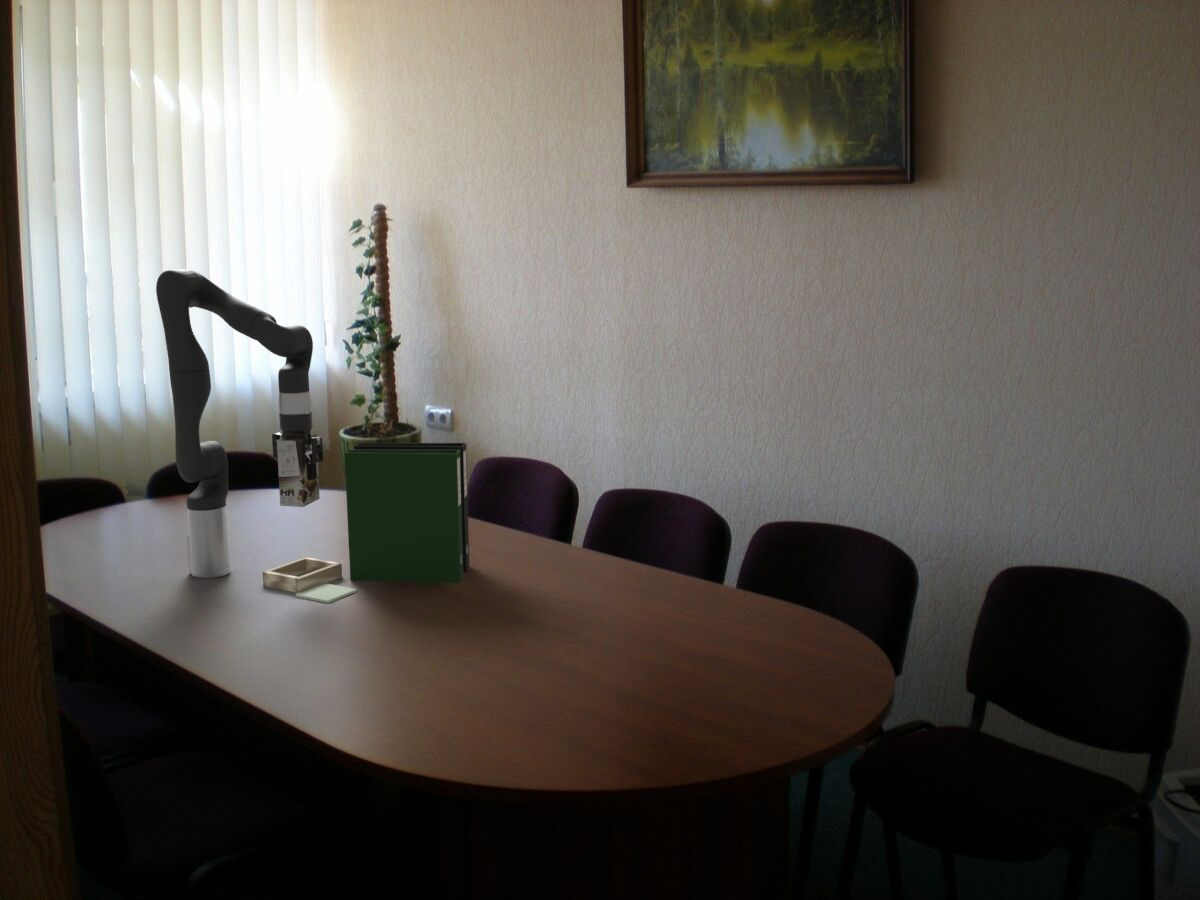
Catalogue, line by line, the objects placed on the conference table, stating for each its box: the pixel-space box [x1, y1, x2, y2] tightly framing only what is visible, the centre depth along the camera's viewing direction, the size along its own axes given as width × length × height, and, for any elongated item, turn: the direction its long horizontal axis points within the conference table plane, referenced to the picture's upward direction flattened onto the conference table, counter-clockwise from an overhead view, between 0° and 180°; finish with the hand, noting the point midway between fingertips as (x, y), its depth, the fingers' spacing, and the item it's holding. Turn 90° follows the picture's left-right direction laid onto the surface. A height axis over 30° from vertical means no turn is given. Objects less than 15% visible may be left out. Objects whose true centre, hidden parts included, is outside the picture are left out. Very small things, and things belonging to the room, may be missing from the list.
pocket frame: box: [261, 556, 343, 594], centre depth 289 cm, size 12×15×4 cm
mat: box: [295, 583, 358, 604], centre depth 279 cm, size 10×10×1 cm
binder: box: [344, 442, 470, 584], centre depth 292 cm, size 27×15×32 cm, turn 87°
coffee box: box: [277, 433, 320, 508], centre depth 283 cm, size 9×6×16 cm
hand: (299, 477), depth 284 cm, fingers closed on coffee box, 7 cm apart
